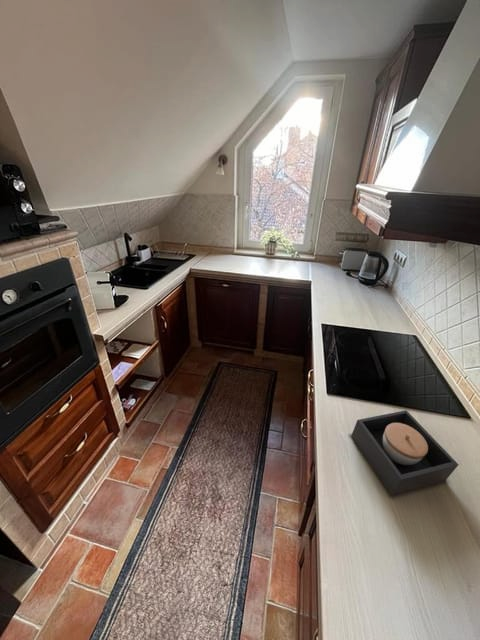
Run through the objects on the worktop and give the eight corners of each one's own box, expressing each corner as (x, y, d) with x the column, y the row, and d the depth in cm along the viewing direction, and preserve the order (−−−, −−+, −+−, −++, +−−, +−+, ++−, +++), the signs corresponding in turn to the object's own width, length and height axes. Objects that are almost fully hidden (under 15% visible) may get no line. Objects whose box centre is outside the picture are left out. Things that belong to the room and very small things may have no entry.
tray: (397, 425, 86) (406, 410, 82) (445, 480, 71) (458, 464, 67) (351, 435, 82) (357, 419, 78) (390, 495, 67) (401, 479, 63)
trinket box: (374, 434, 82) (383, 415, 77) (410, 442, 80) (422, 422, 75) (382, 467, 73) (393, 448, 68) (423, 476, 71) (437, 457, 66)
